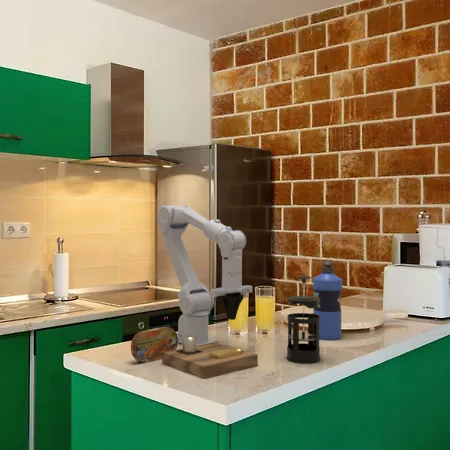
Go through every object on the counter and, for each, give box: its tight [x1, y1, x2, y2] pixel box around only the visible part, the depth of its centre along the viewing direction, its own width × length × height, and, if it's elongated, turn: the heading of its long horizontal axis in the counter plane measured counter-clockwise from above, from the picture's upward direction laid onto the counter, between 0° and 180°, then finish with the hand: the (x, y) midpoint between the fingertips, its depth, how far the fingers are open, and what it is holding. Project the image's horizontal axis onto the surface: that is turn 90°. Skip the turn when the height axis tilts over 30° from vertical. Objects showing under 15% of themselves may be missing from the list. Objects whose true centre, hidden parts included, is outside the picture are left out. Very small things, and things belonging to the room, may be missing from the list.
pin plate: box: [161, 341, 259, 379], centre depth 151 cm, size 18×18×3 cm
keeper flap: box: [209, 346, 244, 359], centre depth 150 cm, size 4×8×1 cm, turn 131°
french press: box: [285, 275, 321, 365], centre depth 158 cm, size 12×9×23 cm
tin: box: [130, 326, 179, 364], centre depth 157 cm, size 15×3×8 cm, turn 136°
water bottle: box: [312, 259, 343, 341], centre depth 184 cm, size 9×9×25 cm
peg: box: [182, 335, 197, 355], centre depth 153 cm, size 4×4×7 cm
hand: (231, 319), depth 165 cm, fingers closed
